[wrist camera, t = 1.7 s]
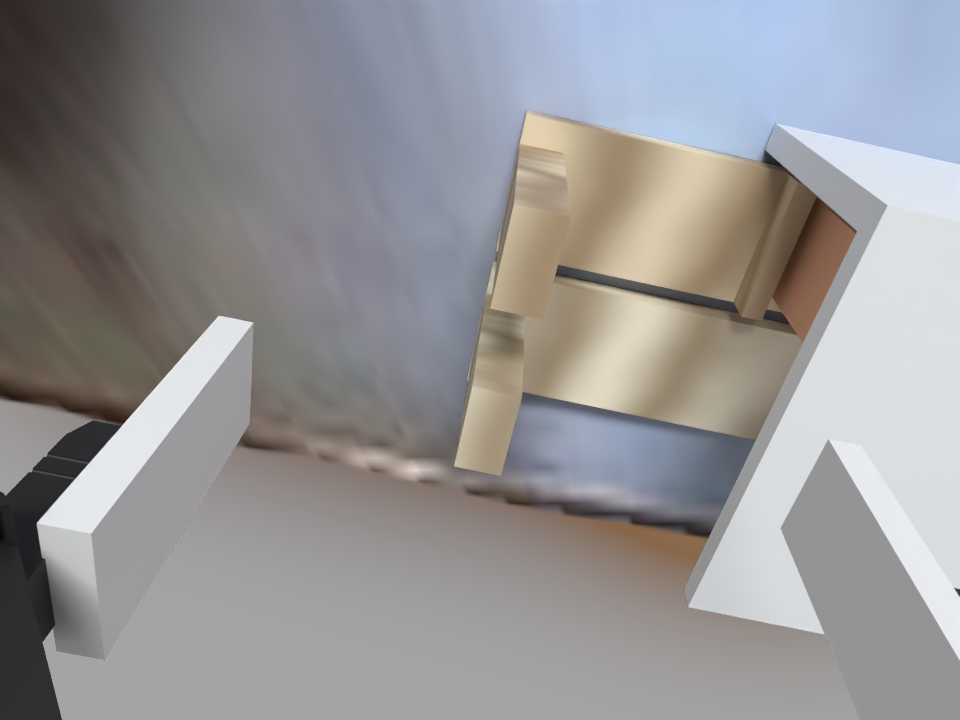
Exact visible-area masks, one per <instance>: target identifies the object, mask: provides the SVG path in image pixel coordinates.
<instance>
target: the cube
mask: <svg viewBox="0 0 960 720" xmlns="http://www.w3.org/2000/svg"><path fill="white" fill-rule="evenodd" d="M856 233H857V231H856V230H855V229H854V228H853V227H852V226H851V225H850V224H848V223H847V222H846V221H845V220H844V219H843V218H842V217H841V216H839V215H838V214H837V213H836V212H835V211H834V210H833V209H831V208H830V207H829V206H828V205H827V204H826V203H825V202H824V201H822V200H821V199H820V198H818V197H816V200H815V202H814V204H813V206H812V209H811V211H810V213H809V215H808V218H807V220H806V222H805V224H804V227H803V229H802V231H801V233H800V236H799V238H798V240H797V242H796V245H795V247H794V249H793V251H792V254H791V256H790V258H789V260H788V263H787V265H786V267H785V270H784V272H783V274H782V276H781V279H780V281H779V283H778V285H777V288H776V290H775V292H774V294H773V297H772V298H773V299H774V301H775V302H776V304H777V305H778V307H779V308H780V310H781V311H782V313H783V314H784V316H785V317H786V319H787V320H788V322H789V323H790V325H791V326H792V328H793V329H794V331H795V332H796V334H797V335H798V337H799V338H800V340H801V341H802V342H804V340H805V338H806V336H807V334H808V332H809V330H810V328H811V326H812V323H813V321H814V319H815V317H816V315H817V313H818V311H819V309H820V307H821V305H822V303H823V301H824V299H825V297H826V295H827V292H828V290H829V288H830V286H831V284H832V282H833V280H834V278H835V276H836V274H837V272H838V270H839V268H840V266H841V264H842V262H843V259H844V257H845V255H846V253H847V251H848V249H849V247H850V245H851V243H852V241H853V239H854V237H855V235H856Z"/></svg>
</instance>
